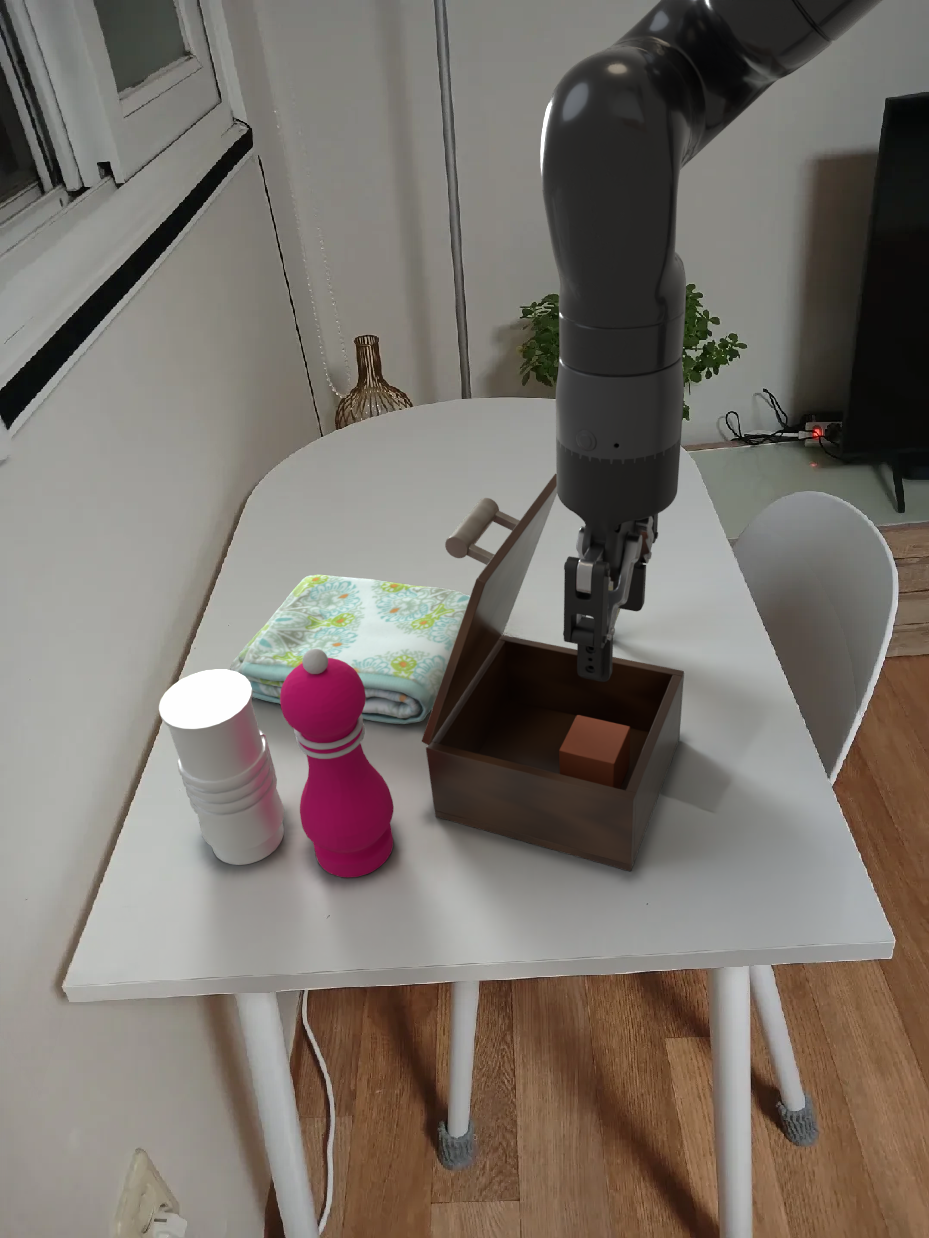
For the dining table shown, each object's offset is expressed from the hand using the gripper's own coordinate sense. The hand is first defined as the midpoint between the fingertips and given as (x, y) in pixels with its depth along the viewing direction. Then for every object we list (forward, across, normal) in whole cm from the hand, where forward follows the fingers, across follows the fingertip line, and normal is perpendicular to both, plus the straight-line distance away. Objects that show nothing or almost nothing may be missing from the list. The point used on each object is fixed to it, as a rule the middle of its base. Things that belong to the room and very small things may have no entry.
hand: (612, 640), depth 67 cm
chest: (+18, +3, +5) cm, 19 cm away
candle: (+18, -12, +27) cm, 35 cm away
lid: (+2, +3, +10) cm, 11 cm away
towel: (+18, +12, +29) cm, 36 cm away
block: (+17, +3, +2) cm, 17 cm away
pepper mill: (+18, -10, +18) cm, 28 cm away
